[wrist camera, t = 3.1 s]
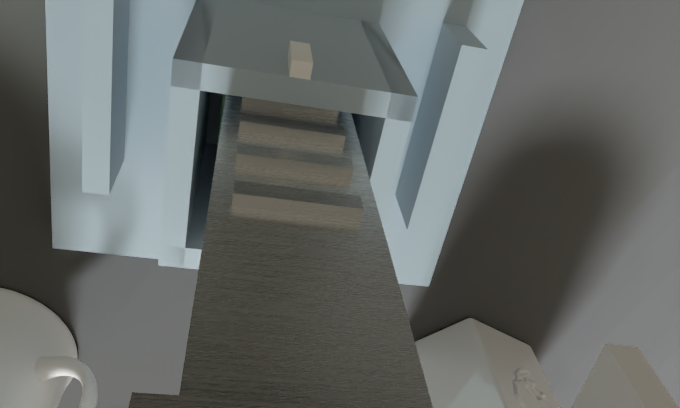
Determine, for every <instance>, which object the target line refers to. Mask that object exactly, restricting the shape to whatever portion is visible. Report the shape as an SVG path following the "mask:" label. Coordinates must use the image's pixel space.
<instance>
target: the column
mask: <svg viewBox="0 0 680 408" xmlns="http://www.w3.org/2000/svg"><path fill="white" fill-rule="evenodd" d="M128 408H433V406H432V402H431V399H430V395H429V391H428V388H427V384H426V381H425V377H424V373H423V370H422V366H421V363H420V359H419V355H418V352H417V348H416V345H415V341H414V337H413V334H412V330H411V327H410V323H409V319H408V316H407V312H406V309H405V305H404V301H403V298H402V294H401V291H400V287H399V283H398V280H397V276H396V273H395V269H394V265H393V262H392V258H391V255H390V251H389V247H388V244H387V240H386V237H385V233H384V229H383V226H382V222H381V219H380V215H379V211H378V208H377V204H376V201H375V197H374V193H373V190H372V186H371V183H370V179H369V175H368V172H367V168H366V165H365V161H364V157H363V154H362V150H361V147H360V143H359V139H358V136H357V132H356V129H355V125H354V121H353V118H352V114H351V113H348V112H341V111H334V110H327V109H321V108H314V107H307V106H301V105H294V104H287V103H281V102H274V101H267V100H261V99H254V98H247V97H241V96H234V95H227V94H223V99H222V108H221V117H220V126H219V135H218V144H217V152H216V161H215V168H214V175H213V181H212V187H211V194H210V200H209V207H208V213H207V219H206V226H205V232H204V238H203V245H202V251H201V258H200V264H199V270H198V277H197V283H196V290H195V296H194V302H193V309H192V315H191V322H190V328H189V334H188V341H187V347H186V354H185V360H184V366H183V373H182V379H181V386H180V392H179V395H168V394H152V393H137V392H132V394H131V399H130V403H129V407H128Z"/></svg>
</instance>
